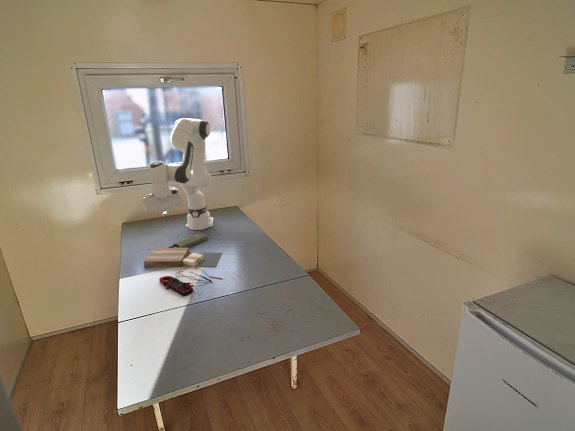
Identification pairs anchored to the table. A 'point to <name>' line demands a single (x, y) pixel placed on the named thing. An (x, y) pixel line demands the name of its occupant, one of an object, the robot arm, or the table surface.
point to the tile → (193, 259)
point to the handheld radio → (190, 241)
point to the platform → (166, 257)
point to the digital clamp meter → (181, 283)
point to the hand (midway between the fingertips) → (165, 215)
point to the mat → (208, 260)
